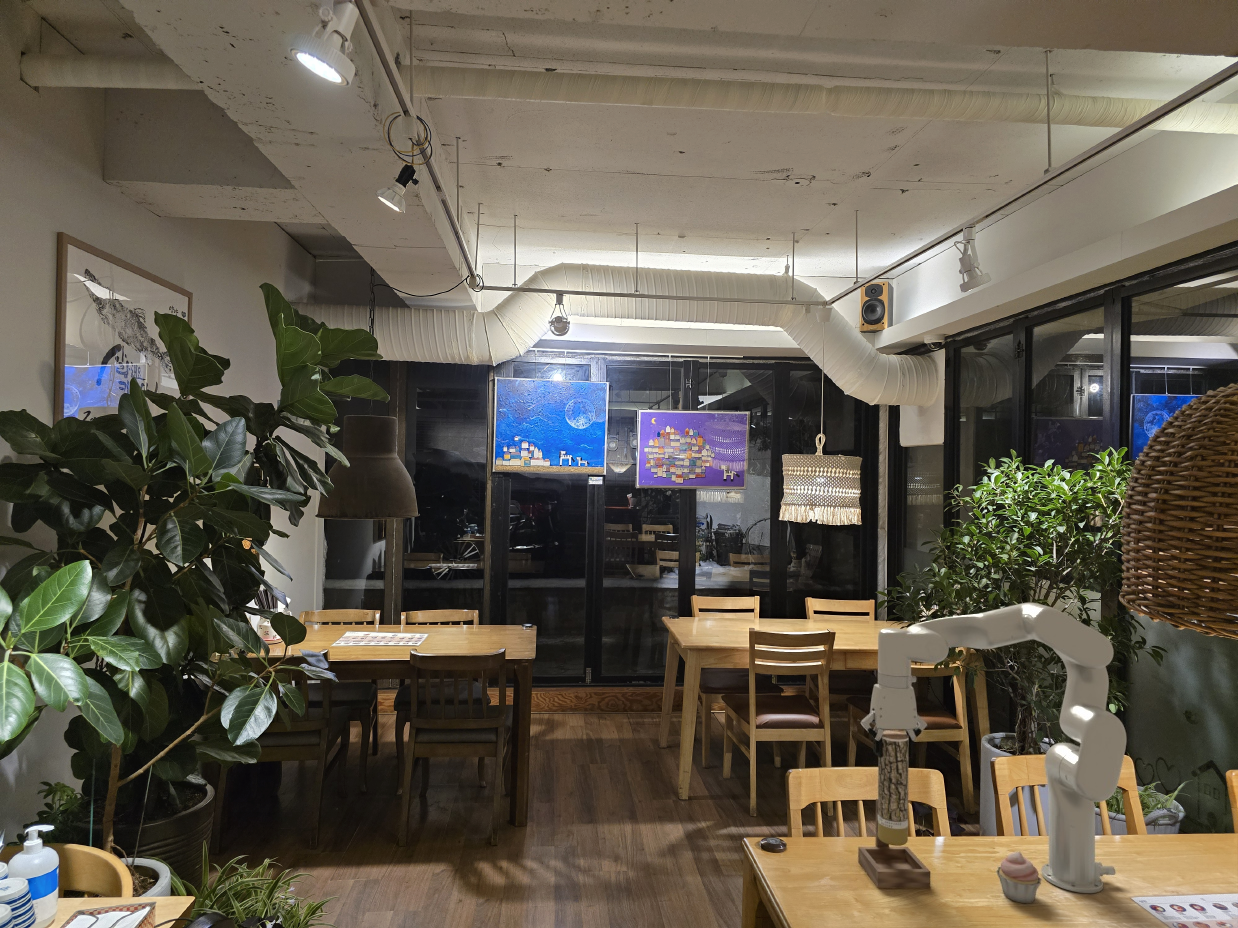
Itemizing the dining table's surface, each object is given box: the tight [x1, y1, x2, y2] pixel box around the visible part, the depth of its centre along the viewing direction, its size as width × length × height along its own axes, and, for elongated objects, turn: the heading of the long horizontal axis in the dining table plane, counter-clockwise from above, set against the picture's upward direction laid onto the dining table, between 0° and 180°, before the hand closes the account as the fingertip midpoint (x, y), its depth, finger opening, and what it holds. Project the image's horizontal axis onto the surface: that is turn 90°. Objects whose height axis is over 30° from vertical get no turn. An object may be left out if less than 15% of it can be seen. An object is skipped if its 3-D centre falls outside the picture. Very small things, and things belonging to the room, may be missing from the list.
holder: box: [857, 798, 931, 889], centre depth 183 cm, size 12×13×15 cm
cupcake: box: [995, 850, 1043, 904], centre depth 173 cm, size 9×9×10 cm
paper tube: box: [877, 730, 909, 847], centre depth 183 cm, size 7×7×25 cm
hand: (893, 754), depth 183 cm, fingers closed on paper tube, 6 cm apart
